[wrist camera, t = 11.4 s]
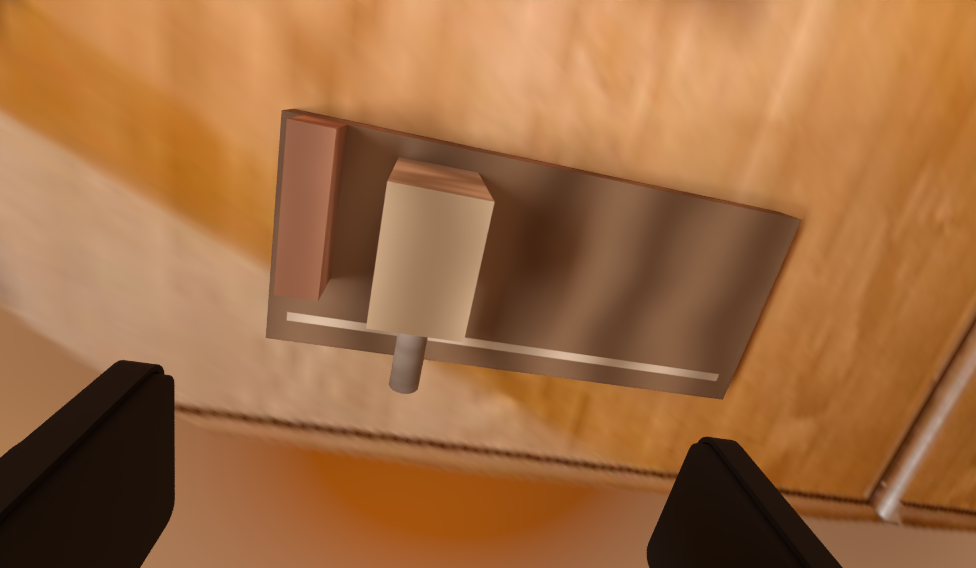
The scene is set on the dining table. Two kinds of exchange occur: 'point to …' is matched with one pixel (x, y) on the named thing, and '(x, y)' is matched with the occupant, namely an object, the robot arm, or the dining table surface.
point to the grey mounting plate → (529, 263)
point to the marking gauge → (427, 260)
